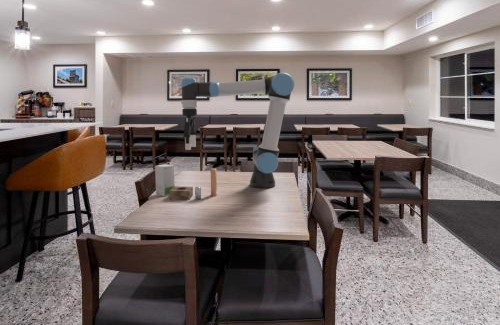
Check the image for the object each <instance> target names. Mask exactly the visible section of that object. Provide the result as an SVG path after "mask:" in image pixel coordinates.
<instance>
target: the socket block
mask: <svg viewBox="0 0 500 325" xmlns="http://www.w3.org/2000/svg"><path fill="white" fill-rule="evenodd" d="M193 196H194V187H193V186H177V185H175V186H174V187H173V188H172V189H171V190H170V195H169V200H173V201H174V200H175V201H176V200H178V201H179V200H181V201H183V200H185V201H188V200H191V198H192V197H193Z"/></svg>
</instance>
